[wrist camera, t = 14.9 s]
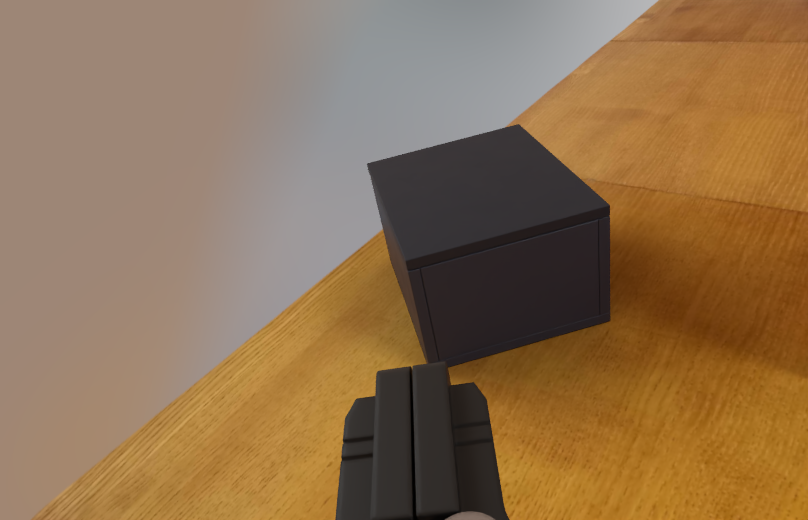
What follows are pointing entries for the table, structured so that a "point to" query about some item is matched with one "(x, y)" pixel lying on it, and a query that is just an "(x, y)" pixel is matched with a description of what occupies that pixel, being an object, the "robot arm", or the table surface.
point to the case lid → (479, 195)
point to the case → (507, 292)
